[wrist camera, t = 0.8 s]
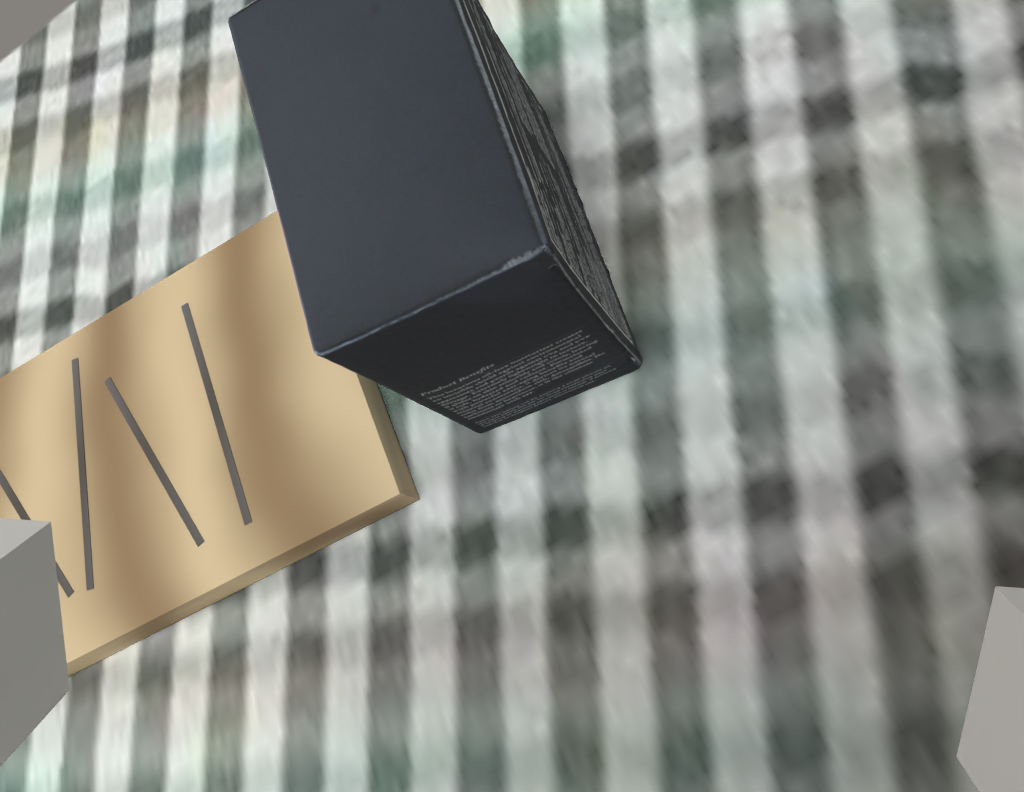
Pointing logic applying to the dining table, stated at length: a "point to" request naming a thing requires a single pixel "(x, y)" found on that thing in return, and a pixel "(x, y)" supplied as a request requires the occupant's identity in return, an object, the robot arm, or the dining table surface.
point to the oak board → (192, 447)
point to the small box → (428, 207)
